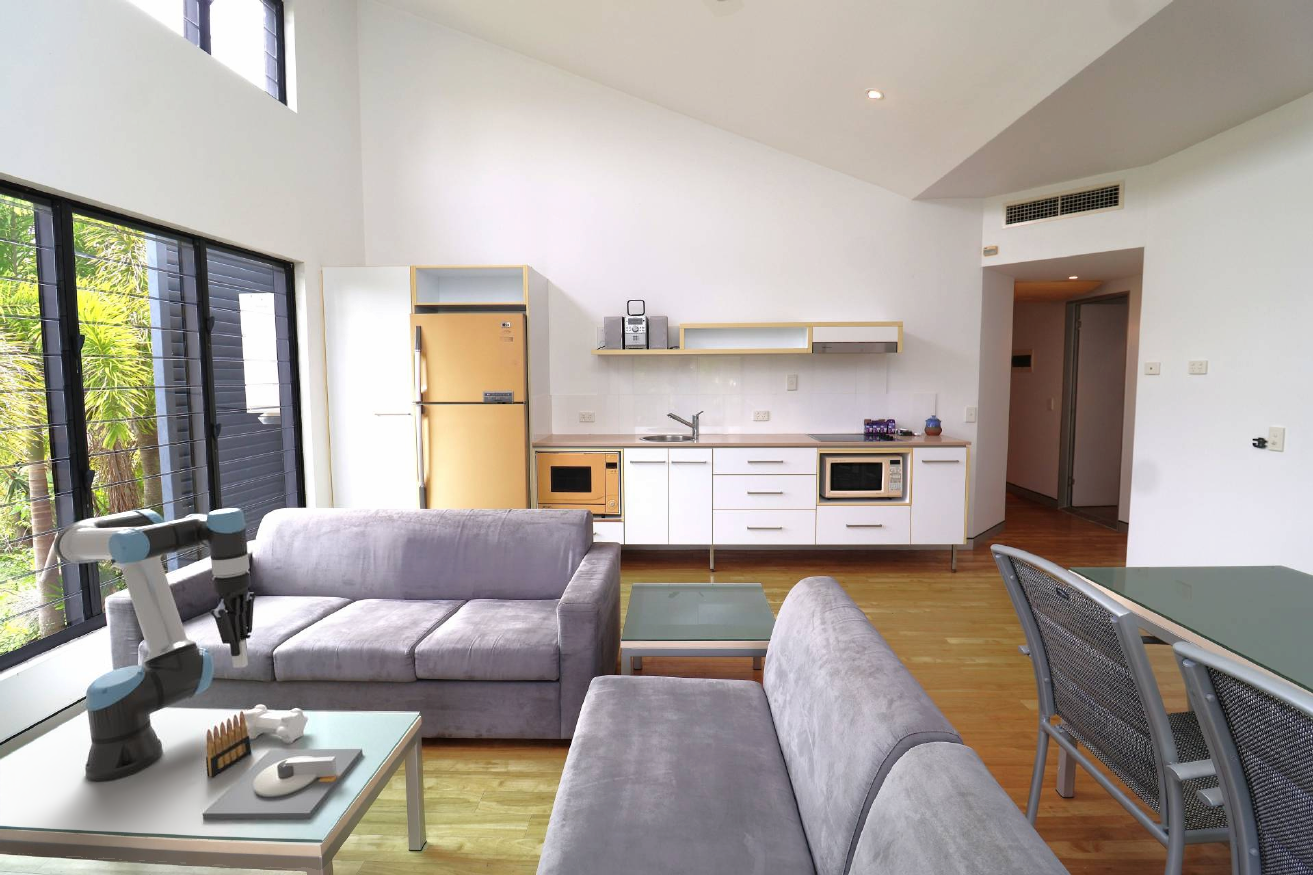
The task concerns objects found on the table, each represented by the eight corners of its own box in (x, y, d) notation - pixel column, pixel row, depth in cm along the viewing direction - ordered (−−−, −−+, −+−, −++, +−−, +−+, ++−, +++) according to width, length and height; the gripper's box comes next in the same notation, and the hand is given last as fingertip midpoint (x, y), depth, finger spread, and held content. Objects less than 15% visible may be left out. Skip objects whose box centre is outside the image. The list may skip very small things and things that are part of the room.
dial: (240, 798, 147) (238, 781, 146) (273, 761, 161) (272, 745, 160) (321, 793, 147) (320, 776, 147) (347, 757, 161) (346, 741, 161)
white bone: (309, 733, 177) (309, 704, 177) (285, 749, 169) (284, 718, 169) (263, 728, 180) (263, 699, 180) (237, 743, 172) (237, 712, 172)
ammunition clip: (212, 778, 157) (207, 731, 156) (207, 777, 158) (202, 730, 157) (251, 753, 168) (247, 709, 166) (246, 752, 168) (242, 708, 167)
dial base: (203, 819, 143) (202, 812, 142) (271, 754, 166) (270, 748, 166) (309, 819, 142) (309, 812, 142) (362, 754, 166) (362, 748, 165)
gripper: (234, 565, 163) (243, 654, 165) (196, 582, 150) (206, 679, 152) (263, 564, 163) (272, 654, 165) (227, 581, 150) (237, 678, 152)
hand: (240, 666), depth 159 cm, fingers closed
